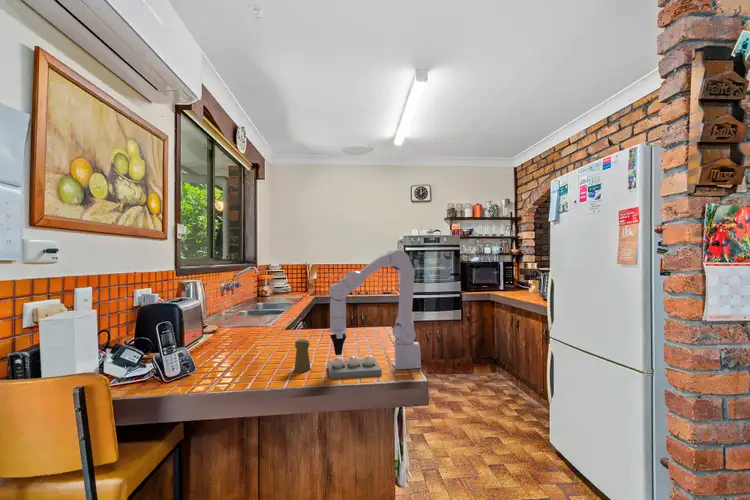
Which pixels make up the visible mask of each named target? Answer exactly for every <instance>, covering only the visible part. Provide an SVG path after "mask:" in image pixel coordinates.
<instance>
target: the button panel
mask: <svg viewBox="0 0 750 500" xmlns="http://www.w3.org/2000/svg"><path fill="white" fill-rule="evenodd" d="M327 369H328V376H329V380H333V379H347V378H348V379H349V378H363V377H365V378H366V377H379V376H383V375H382V373H383V371H382V368H381V367H380V365H379V363H378V362H377V360H376V358H374V365H373V366H364V365H363V359H359V366H358V367H349V366H348V360H344V367H342V368H334V367H333V361H328V362H327Z"/></svg>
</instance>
